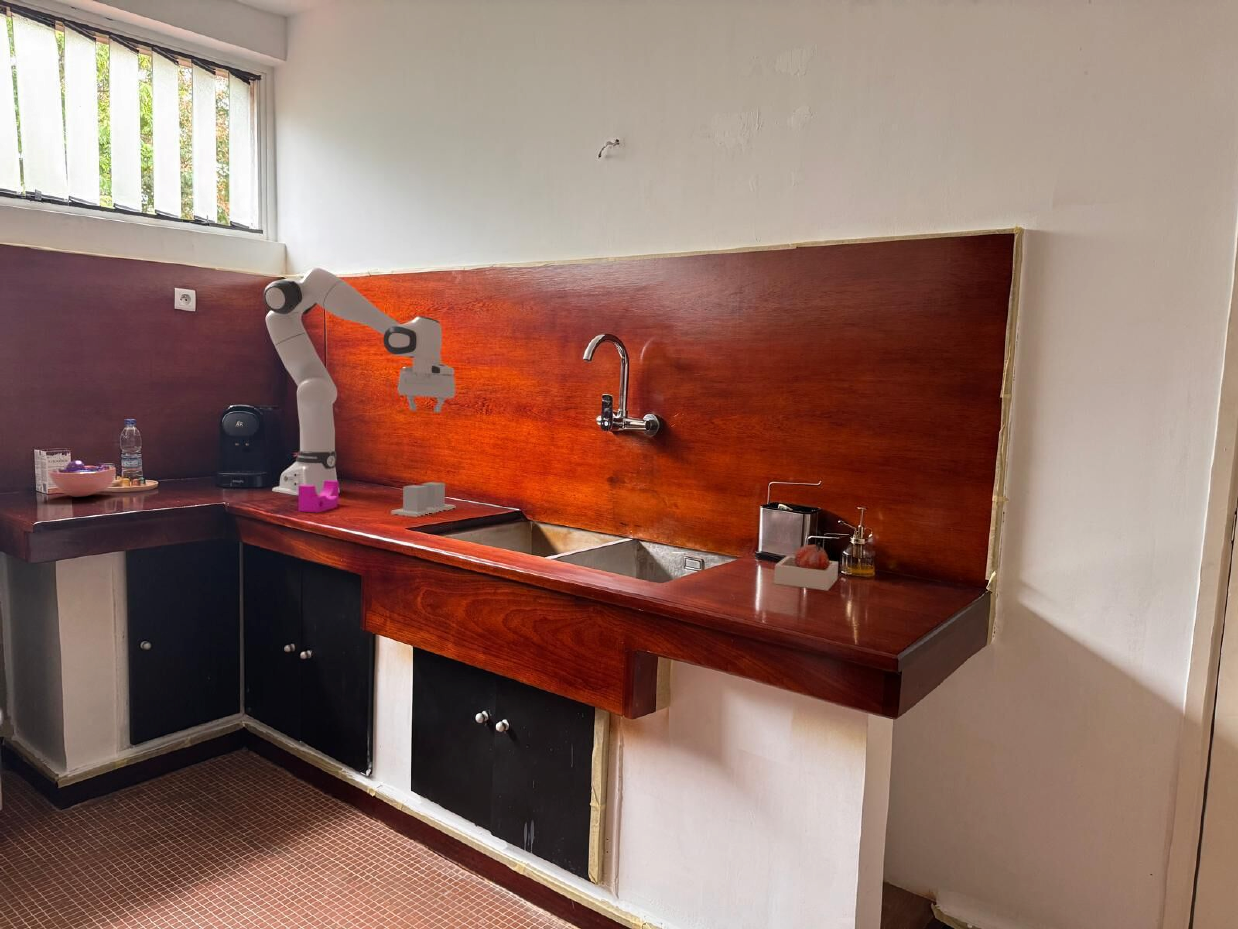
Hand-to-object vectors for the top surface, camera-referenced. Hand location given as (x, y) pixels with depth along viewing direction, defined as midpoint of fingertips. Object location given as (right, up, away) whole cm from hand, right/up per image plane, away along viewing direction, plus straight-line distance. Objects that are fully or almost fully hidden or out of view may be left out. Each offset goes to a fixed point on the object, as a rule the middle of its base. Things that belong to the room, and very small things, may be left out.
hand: (425, 410), depth 280 cm
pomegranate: (+103, -43, -89) cm, 143 cm away
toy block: (-28, -31, -15) cm, 44 cm away
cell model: (-104, -27, -9) cm, 108 cm away
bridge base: (+3, -31, -15) cm, 35 cm away
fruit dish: (+103, -43, -89) cm, 143 cm away
